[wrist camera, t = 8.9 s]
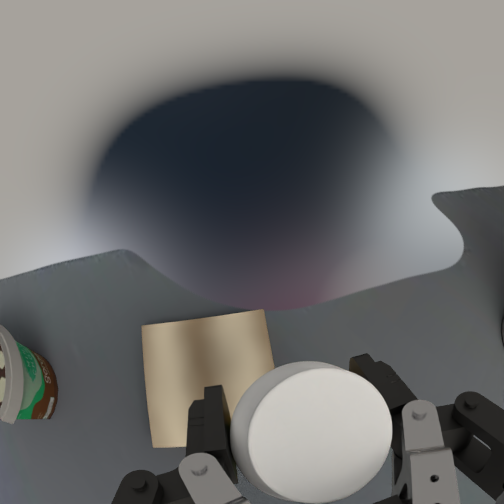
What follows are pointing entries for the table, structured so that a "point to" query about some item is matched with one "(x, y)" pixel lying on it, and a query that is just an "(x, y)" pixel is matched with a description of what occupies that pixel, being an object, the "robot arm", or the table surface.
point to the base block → (200, 366)
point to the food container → (24, 382)
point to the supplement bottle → (310, 432)
